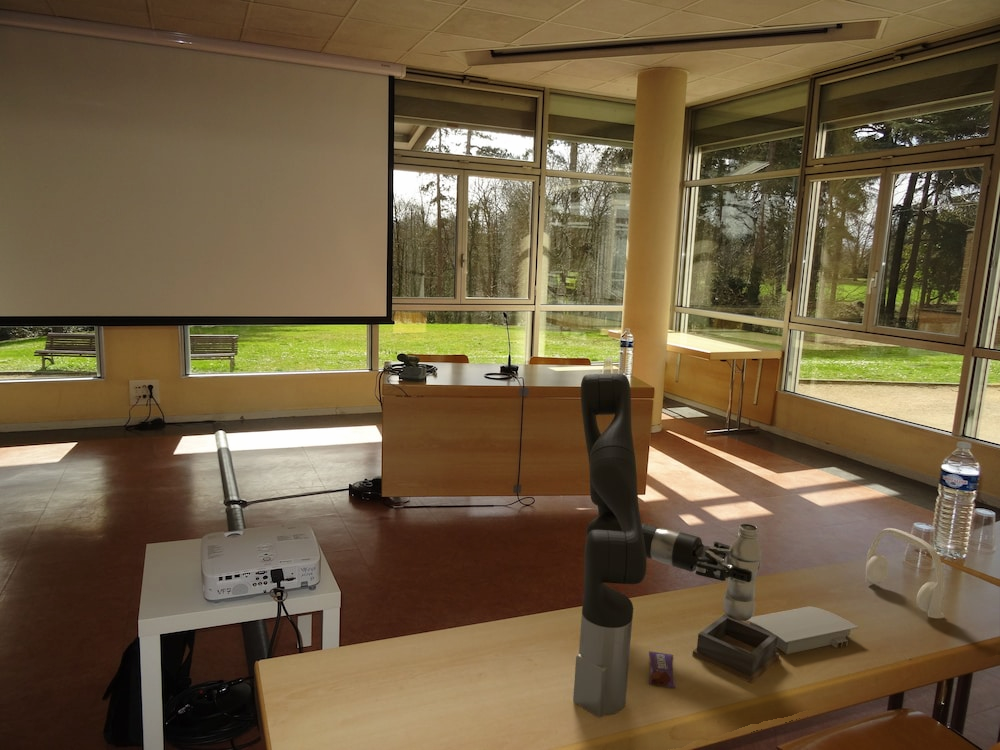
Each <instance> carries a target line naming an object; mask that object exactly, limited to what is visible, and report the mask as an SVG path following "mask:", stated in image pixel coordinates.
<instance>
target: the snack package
mask: <svg viewBox="0 0 1000 750" xmlns="http://www.w3.org/2000/svg"><path fill="white" fill-rule="evenodd" d="M648 655H649V659H650V660H649V661H650V676H649V677H650V679H649V682H648V683H649V684H650V685H655V686H662V687H667V688H674V689H675V688H676V685H675V681H674V674H673V657H674V655H673V654H671V653H663V652H656V651H651V650H649V651H648Z"/></svg>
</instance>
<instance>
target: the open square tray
mask: <svg viewBox="0 0 1000 750" xmlns="http://www.w3.org/2000/svg"><path fill="white" fill-rule="evenodd" d="M777 639H778V636H776V635H774V634H772V633H769V632H767V631H764V630H762V629H760V628H757V627H755V626H752V625H750V623H748V622H746V621H739V620H735V619H732V618H730V617H728V616H727V615H726V614H725V613H724V614H723V615H721V616H720V617H719V618H718V619H716V620H714V621H713V622H712V623H711V624H709V625H708V626H707V627H705V628H704V629H703V630H701V631H699V633H698V634H697V644H696V648H694V649H693V650H692V656H694V657H695V658H698V659H699V660H702V661H704V662H706V663H708V664H710V665H713V666H715V667H716V668H717V669H718V668H719V669H720V670H723V671H724V672H727V673H729V674H731V675H732V676H733V675H734V676H735V677H738V678H740V679H742V680H744V681H746V682H748V683H750V684H753V683H754V682H755V681H756V680H757V679H758V678H759V677H760V676H761V675H762V674H764V673H765V671H767V670H768V668H770V667H771V666H772V665H773V664H774V663H775V662H776V661H777V660H778V659H779V657H780V653H779V652H777V648H778V647H777Z"/></svg>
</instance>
